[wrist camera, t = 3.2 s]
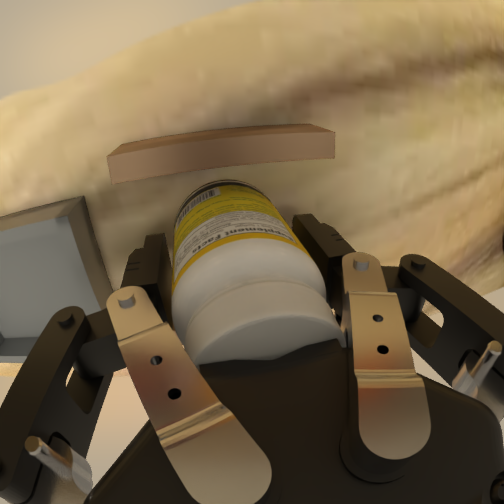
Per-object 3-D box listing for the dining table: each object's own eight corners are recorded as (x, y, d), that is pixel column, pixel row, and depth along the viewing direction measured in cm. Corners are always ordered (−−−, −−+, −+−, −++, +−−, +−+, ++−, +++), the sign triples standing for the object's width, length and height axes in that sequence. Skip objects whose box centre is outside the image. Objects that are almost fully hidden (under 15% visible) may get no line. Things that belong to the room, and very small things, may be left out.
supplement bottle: (264, 273, 16) (323, 415, 9) (171, 268, 15) (171, 426, 7) (286, 184, 14) (391, 299, 6) (179, 171, 12) (171, 296, 5)
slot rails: (309, 124, 12) (334, 132, 10) (305, 291, 17) (321, 320, 15) (121, 144, 11) (106, 156, 9) (161, 313, 16) (159, 347, 14)
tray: (83, 195, 12) (67, 215, 10) (128, 330, 16) (124, 359, 14) (-48, 232, 10) (-68, 251, 9) (5, 338, 15) (-5, 362, 13)
